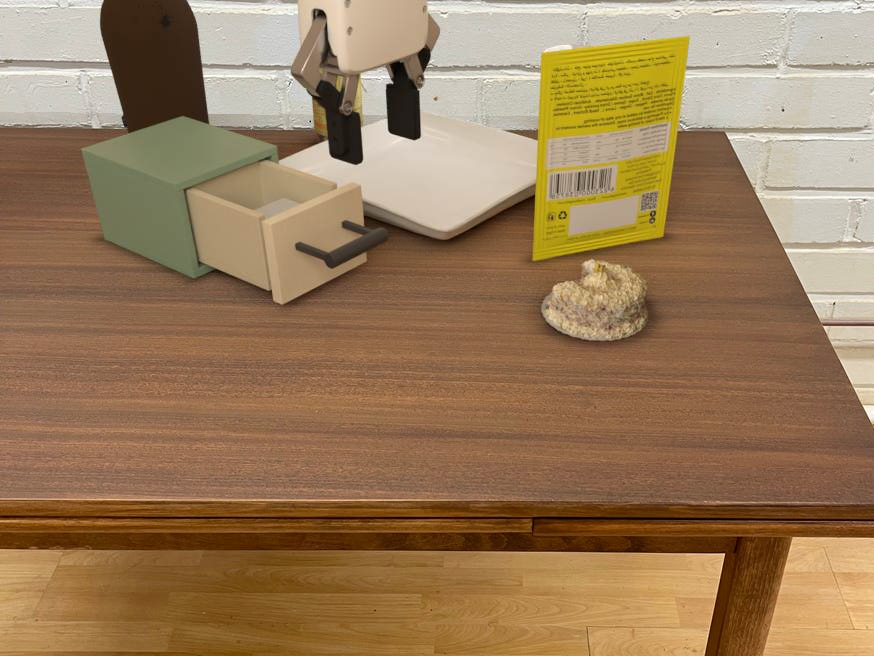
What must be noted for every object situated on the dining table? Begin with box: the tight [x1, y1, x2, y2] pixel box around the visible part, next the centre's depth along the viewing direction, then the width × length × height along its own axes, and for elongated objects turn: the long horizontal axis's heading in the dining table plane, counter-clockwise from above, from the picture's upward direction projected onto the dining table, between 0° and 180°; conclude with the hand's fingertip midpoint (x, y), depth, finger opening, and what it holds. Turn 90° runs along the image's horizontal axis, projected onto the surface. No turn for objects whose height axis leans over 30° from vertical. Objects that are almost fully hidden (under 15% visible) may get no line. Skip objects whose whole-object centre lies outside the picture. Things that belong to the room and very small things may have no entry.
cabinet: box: [80, 116, 280, 280], centre depth 98 cm, size 15×13×10 cm
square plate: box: [279, 109, 538, 241], centre depth 110 cm, size 27×27×4 cm
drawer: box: [183, 159, 389, 306], centre depth 91 cm, size 19×11×8 cm, turn 52°
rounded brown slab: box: [99, 0, 210, 134], centre depth 110 cm, size 11×11×25 cm
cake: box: [540, 258, 650, 342], centre depth 87 cm, size 10×10×5 cm
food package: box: [532, 35, 691, 262], centre depth 93 cm, size 15×1×20 cm, turn 113°
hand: (376, 146), depth 78 cm, fingers open, 6 cm apart
